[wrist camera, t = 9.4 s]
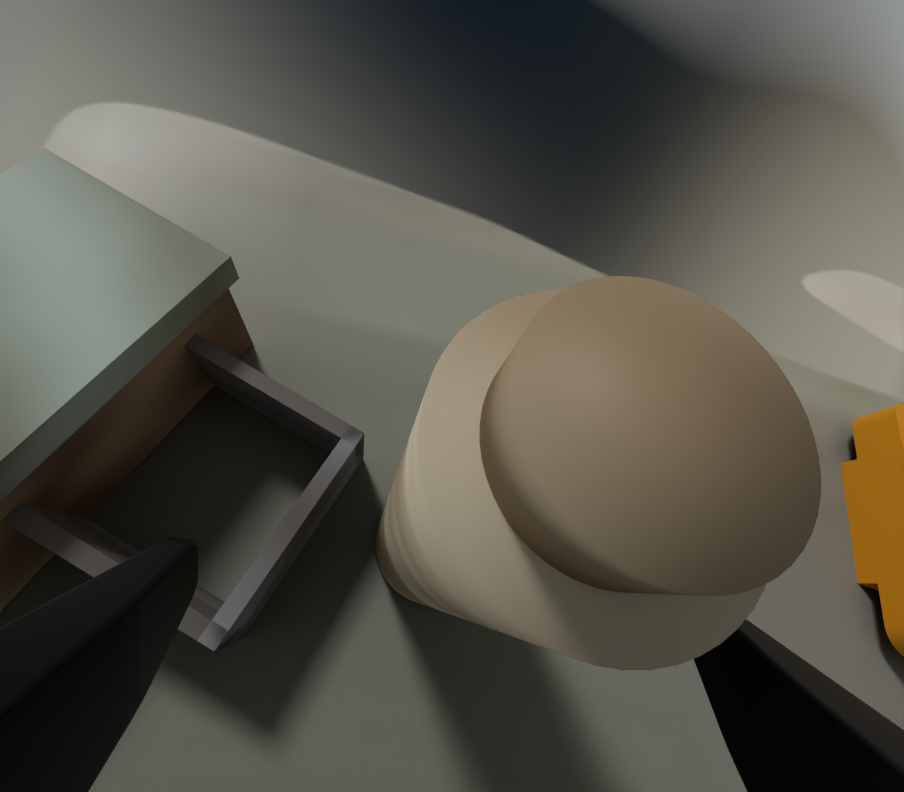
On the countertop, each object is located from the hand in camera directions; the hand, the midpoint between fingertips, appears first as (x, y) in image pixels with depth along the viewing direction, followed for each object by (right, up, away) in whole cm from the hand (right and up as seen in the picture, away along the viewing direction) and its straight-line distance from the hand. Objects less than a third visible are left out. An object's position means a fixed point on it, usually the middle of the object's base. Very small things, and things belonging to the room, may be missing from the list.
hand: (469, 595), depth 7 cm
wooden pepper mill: (-1, -2, +8) cm, 8 cm away
